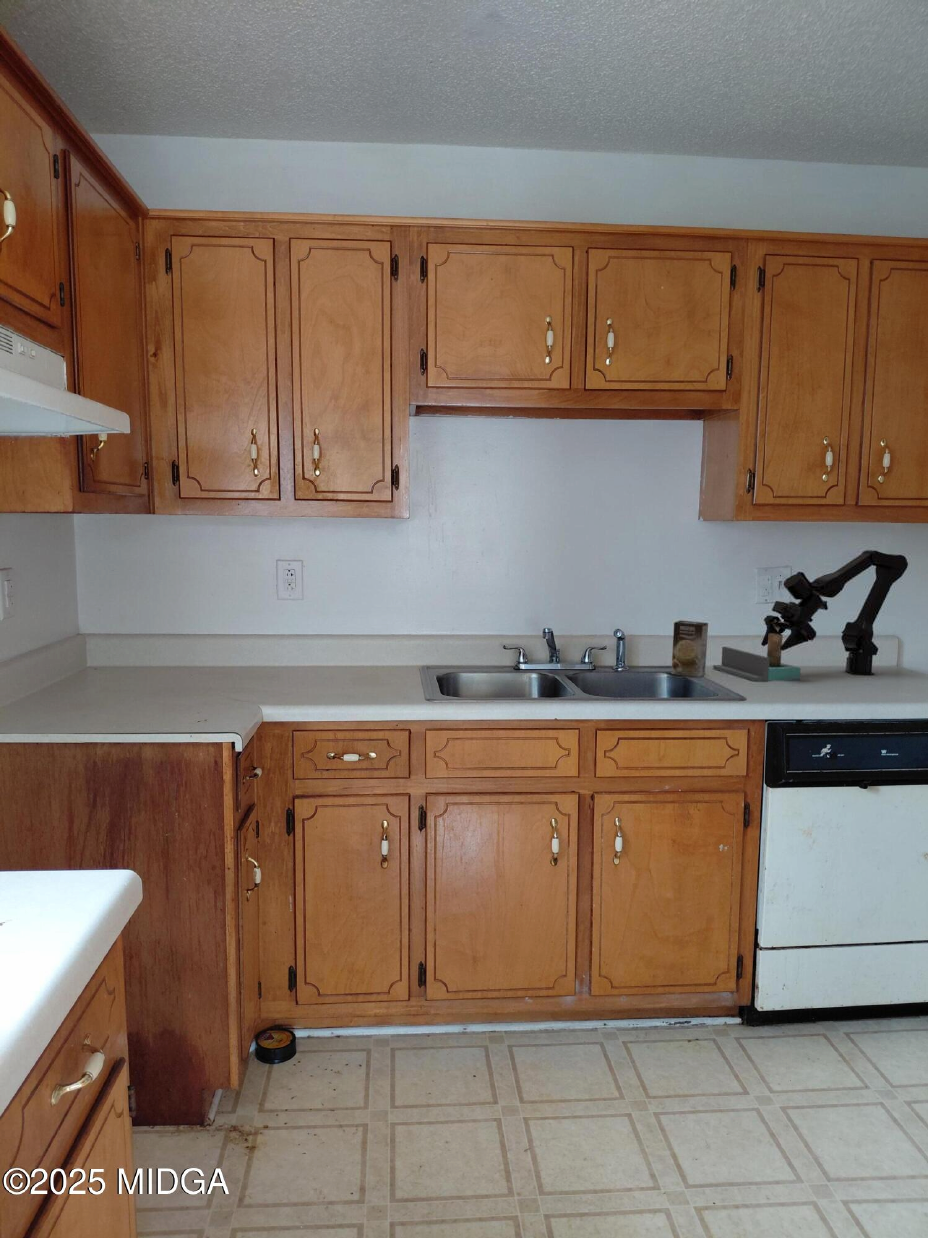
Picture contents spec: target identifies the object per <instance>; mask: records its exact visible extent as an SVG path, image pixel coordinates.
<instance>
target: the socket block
mask: <svg viewBox="0 0 928 1238" xmlns="http://www.w3.org/2000/svg"><path fill="white" fill-rule="evenodd" d="M793 679H799V680H800V679H801V667H798V666H794V665H792V664H791V665H790V664H787V663H783V662H781V665H780V667H769V674H768V681H767V682H774V681H773V680H778V681H794V680H793Z"/></svg>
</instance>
